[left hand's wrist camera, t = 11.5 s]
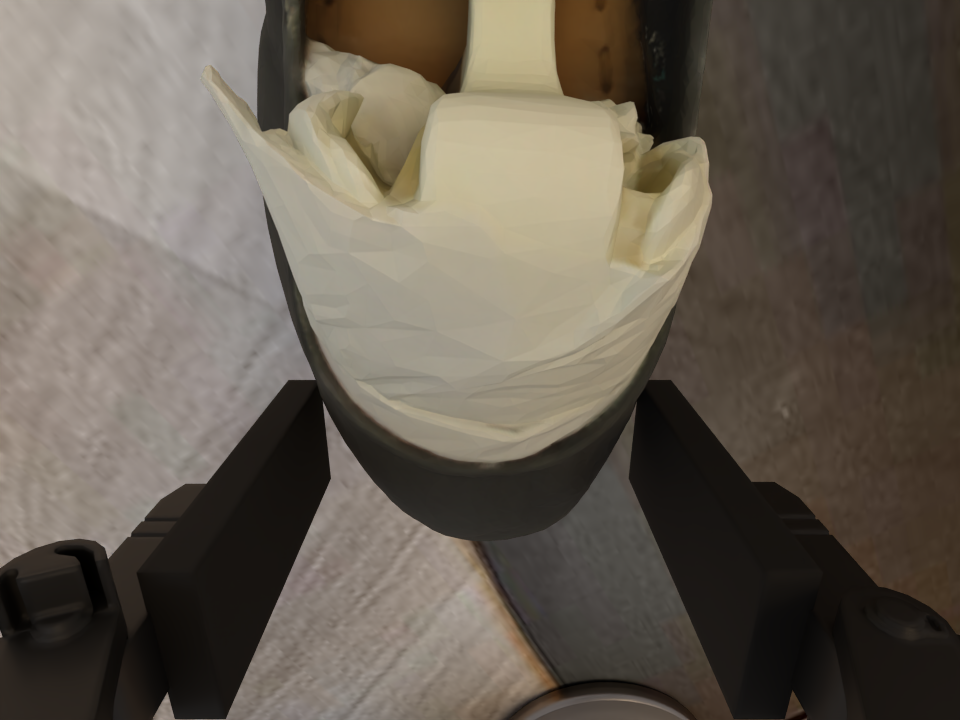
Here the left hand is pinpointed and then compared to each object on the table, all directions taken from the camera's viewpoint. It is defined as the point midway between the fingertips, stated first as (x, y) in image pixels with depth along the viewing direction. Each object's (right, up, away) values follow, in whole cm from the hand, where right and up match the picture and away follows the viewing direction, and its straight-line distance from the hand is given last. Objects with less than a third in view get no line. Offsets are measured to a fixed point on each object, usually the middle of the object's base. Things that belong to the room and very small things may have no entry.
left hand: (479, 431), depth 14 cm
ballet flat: (0, +9, -2) cm, 9 cm away
